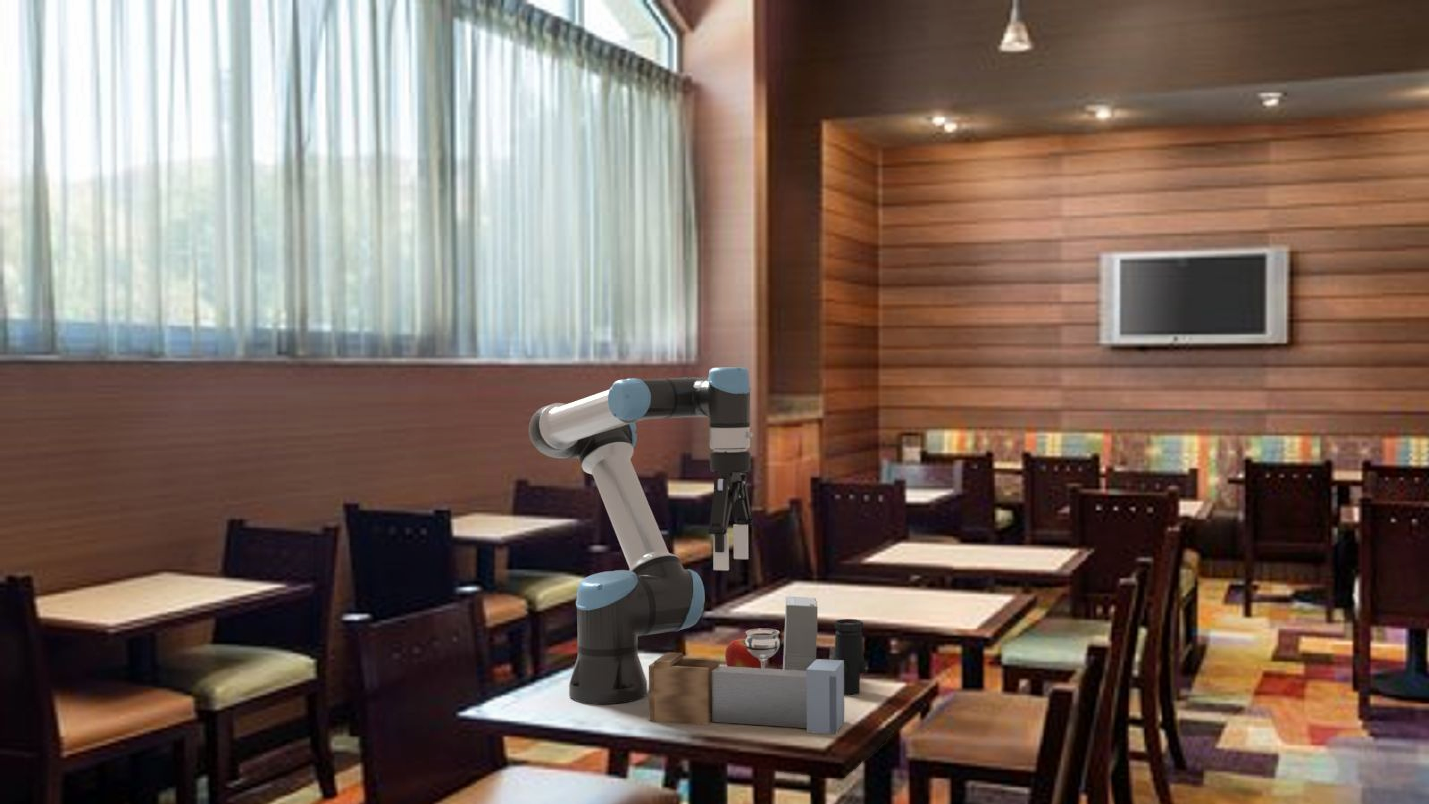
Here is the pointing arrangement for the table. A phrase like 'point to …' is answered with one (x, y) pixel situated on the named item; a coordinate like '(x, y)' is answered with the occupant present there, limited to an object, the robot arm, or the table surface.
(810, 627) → the skincare box
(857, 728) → the table surface
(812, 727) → the blue-grey upright rectangular block
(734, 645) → the apple
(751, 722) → the grey rectangular box
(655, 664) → the brown wooden box
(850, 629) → the scope
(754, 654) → the wineglass
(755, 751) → the table surface
